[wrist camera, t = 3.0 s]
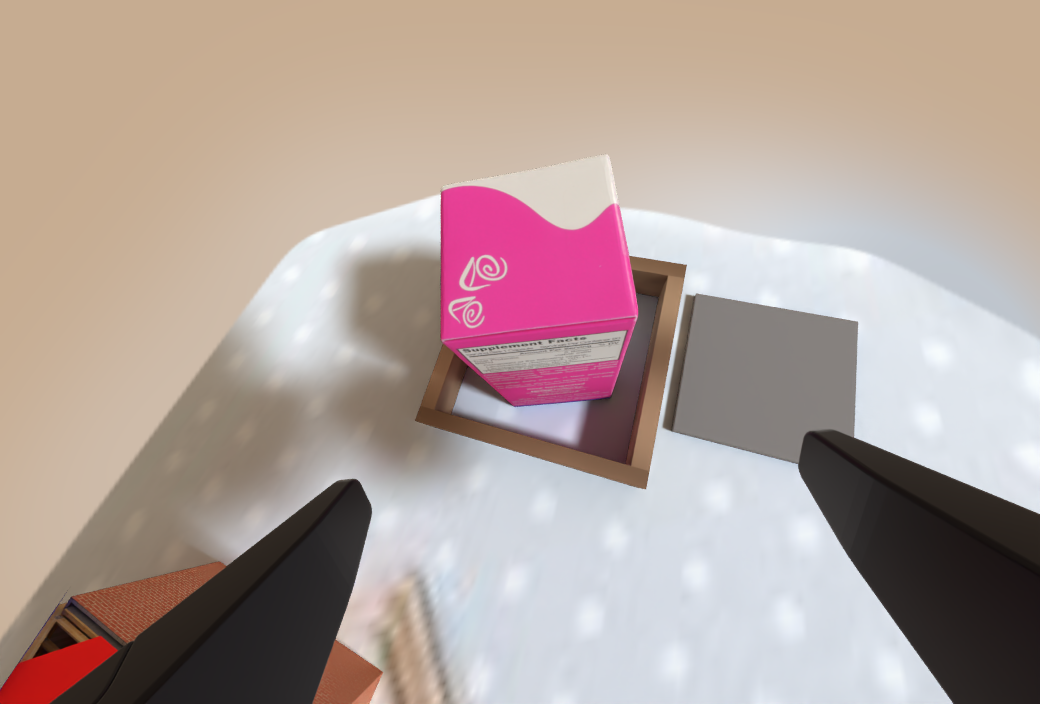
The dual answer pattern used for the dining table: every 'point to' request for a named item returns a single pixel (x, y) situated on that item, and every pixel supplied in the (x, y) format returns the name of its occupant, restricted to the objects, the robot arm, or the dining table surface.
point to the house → (121, 618)
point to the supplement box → (538, 281)
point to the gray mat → (765, 376)
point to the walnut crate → (437, 413)
